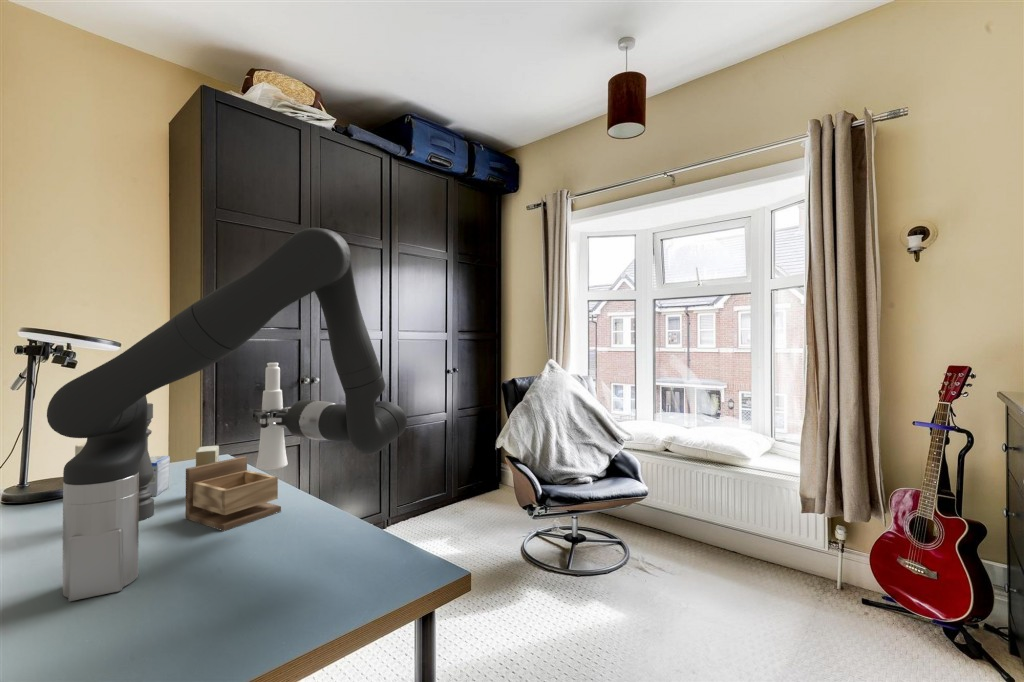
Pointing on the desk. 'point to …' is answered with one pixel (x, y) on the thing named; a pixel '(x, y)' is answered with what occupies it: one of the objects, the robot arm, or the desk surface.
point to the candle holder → (146, 476)
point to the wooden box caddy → (229, 494)
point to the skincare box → (207, 455)
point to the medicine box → (159, 474)
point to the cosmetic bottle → (271, 436)
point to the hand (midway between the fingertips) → (263, 413)
